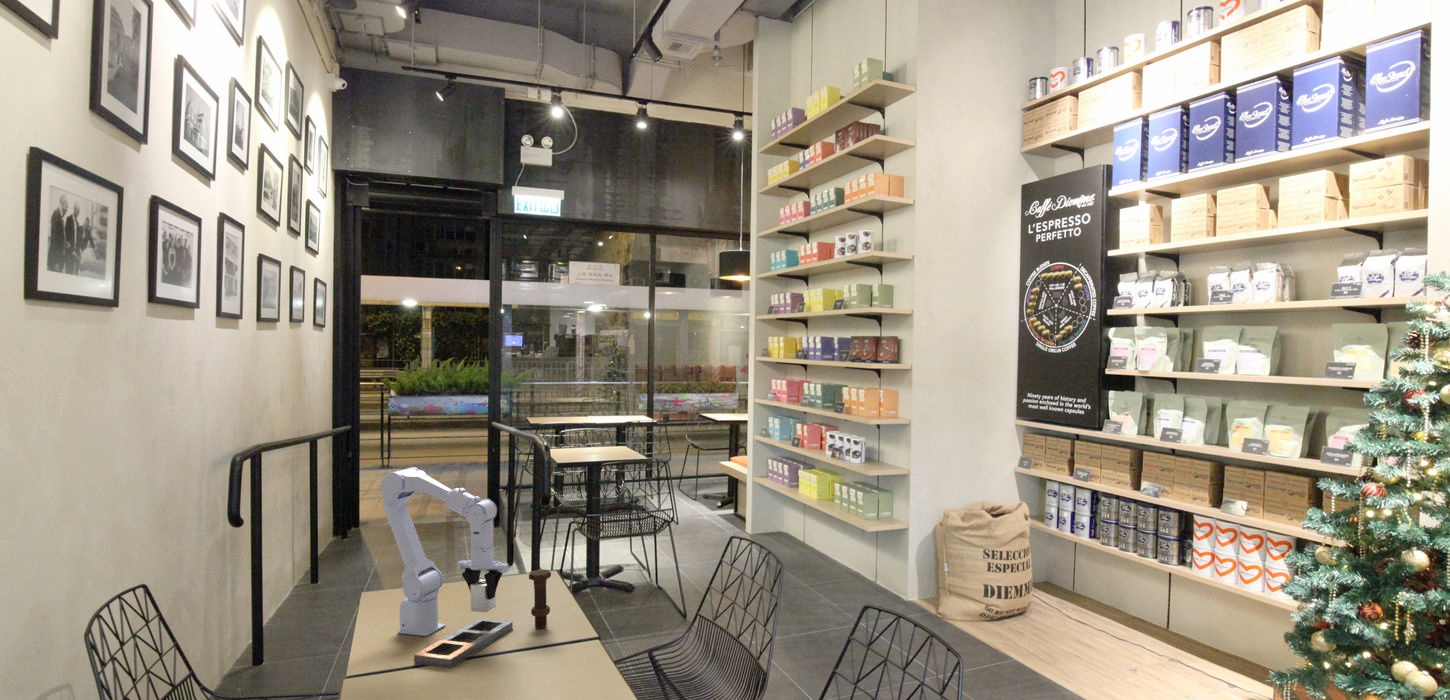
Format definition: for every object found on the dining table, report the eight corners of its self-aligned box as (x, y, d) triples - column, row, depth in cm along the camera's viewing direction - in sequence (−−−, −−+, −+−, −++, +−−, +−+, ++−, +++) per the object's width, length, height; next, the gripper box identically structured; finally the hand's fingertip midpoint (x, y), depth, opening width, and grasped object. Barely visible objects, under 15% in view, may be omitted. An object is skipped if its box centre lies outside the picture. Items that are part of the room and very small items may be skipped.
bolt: (544, 631, 196) (543, 575, 196) (527, 630, 197) (526, 574, 197) (554, 623, 201) (553, 569, 202) (537, 622, 202) (536, 568, 203)
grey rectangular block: (470, 611, 193) (470, 584, 193) (481, 605, 197) (480, 579, 197) (485, 612, 192) (485, 585, 192) (495, 606, 196) (495, 580, 196)
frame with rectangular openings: (414, 663, 177) (414, 654, 177) (479, 625, 201) (479, 617, 201) (450, 668, 174) (450, 659, 174) (512, 629, 198) (512, 621, 198)
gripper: (449, 548, 193) (450, 600, 193) (496, 552, 189) (497, 604, 189) (466, 541, 200) (467, 591, 200) (512, 545, 195) (513, 595, 195)
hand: (483, 597), depth 195 cm, fingers closed on grey rectangular block, 4 cm apart
